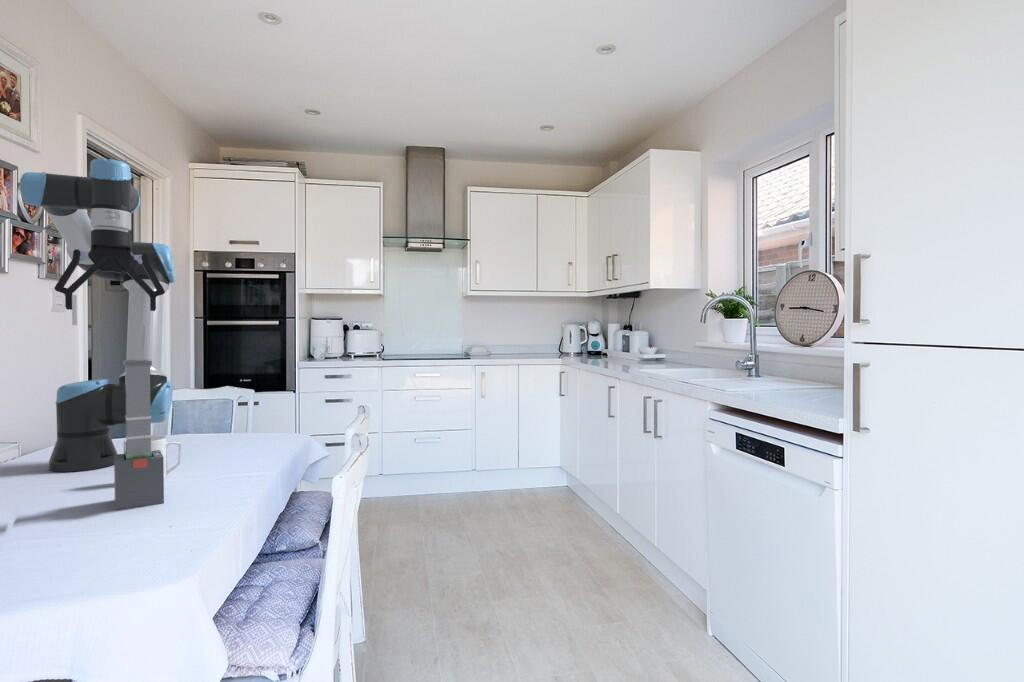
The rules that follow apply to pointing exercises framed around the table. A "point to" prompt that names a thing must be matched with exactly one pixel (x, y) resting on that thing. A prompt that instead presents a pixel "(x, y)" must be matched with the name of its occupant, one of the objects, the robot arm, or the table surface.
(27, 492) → the table surface
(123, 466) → the stand
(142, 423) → the column
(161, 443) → the mug
